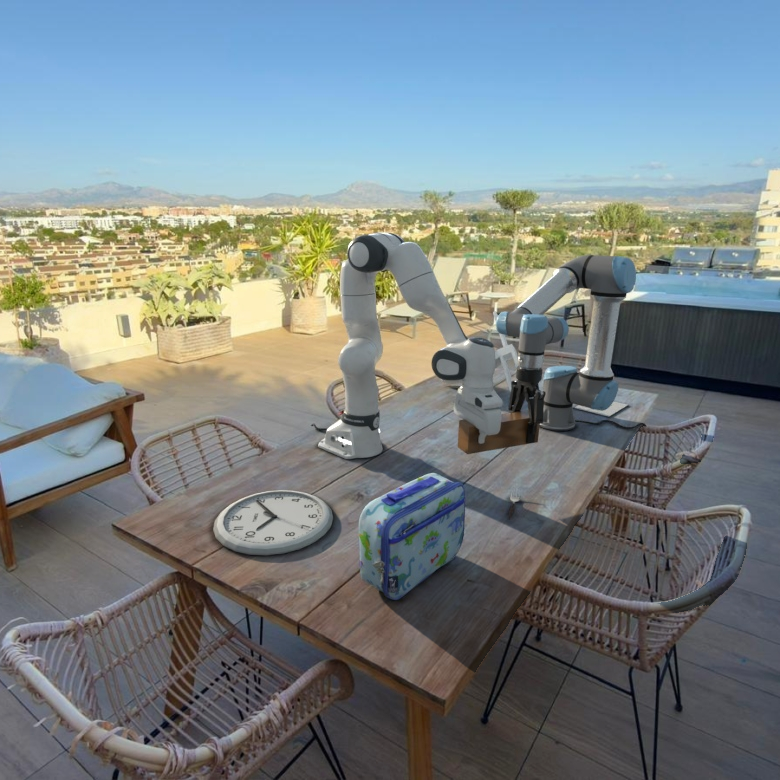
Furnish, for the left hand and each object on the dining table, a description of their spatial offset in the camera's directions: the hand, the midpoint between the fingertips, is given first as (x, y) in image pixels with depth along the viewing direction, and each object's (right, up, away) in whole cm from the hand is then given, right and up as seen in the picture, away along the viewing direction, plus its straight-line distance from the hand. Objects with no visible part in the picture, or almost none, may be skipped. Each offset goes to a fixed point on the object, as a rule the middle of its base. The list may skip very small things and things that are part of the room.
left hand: (474, 438), depth 155 cm
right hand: (+16, -1, +7) cm, 18 cm away
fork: (+9, -18, -12) cm, 23 cm away
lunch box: (-20, -26, -40) cm, 52 cm away
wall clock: (-55, -19, -21) cm, 62 cm away
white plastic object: (+17, +13, +88) cm, 90 cm away
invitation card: (+67, +7, +71) cm, 97 cm away
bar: (+8, -2, +4) cm, 10 cm away
